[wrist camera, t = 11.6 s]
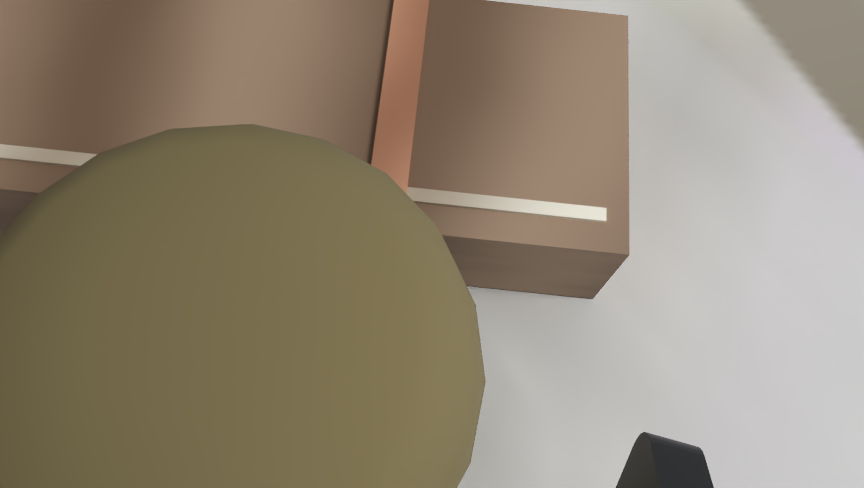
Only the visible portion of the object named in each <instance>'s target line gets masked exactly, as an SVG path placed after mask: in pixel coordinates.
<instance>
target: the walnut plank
mask: <svg viewBox="0 0 864 488" xmlns="http://www.w3.org/2000/svg"><path fill="white" fill-rule="evenodd" d="M237 124H255V125H260V126H264V127H269V128H274V129H279V130H283V131H288V132H293V133H297V134H302V135H307V136H311V137H316V138H321V139H325V140H326V141H328V142H330V143H332V144H334V145H336V146H337V147H339V148H341V149H343V150H345V151H347V152H348V153H350V154H352V155H354V156H356V157H358V158H359V159H361V160H363V161H365V162H367V163H369V164H370V165H372V166H374V167H376V168H378V169H380V170H381V171H383V172H385V173H387V174H388V175H389V176H390V177H391V178H392V179H393V180H394V182H395V183H396V184H397V185H398V186H399V187H400V188H401V189H402V190H403V191H404V192H405V193H406V194H407V195H408V196H409V197H410V198H411V199H412V200H413V201H414V202H415V203H416V204H417V206H418V207H419V208H420V209H421V210H422V211H423V212H424V213H425V214H426V215H427V216H428V217H429V218H430V219H431V220H432V221H433V222H434V223H435V224H436V225H437V227H438V229H439V231H440V233H441V235H442V236H443V238H444V240H445V242H446V245H447V247H448V249H449V251H450V253H451V255H452V257H453V259H454V261H455V263H456V265H457V267H458V270H459V272H460V274H461V276H462V278H463V280H464V282H465V284H466V286H475V287H485V288H494V289H504V290H513V291H523V292H533V293H542V294H552V295H562V296H571V297H581V298H590V299H593V298H594V297H595V295H596V294H597V293H598V292H599V291H600V289H601V288H602V287H603V286H604V285H605V283H606V282H607V281H608V280H609V279H610V277H611V276H612V275H613V274H614V273H615V271H616V270H617V269H618V268H619V266H620V265H621V264H622V263H623V262H624V260H625V259H626V258H627V257H628V256H629V116H628V16H624V15H615V14H606V13H597V12H588V11H578V10H569V9H560V8H551V7H541V6H532V5H523V4H514V3H504V2H495V1H486V0H0V236H1V235H2V234H3V233H4V232H5V231H6V229H7V228H8V227H9V226H10V225H11V224H12V223H13V221H14V220H15V219H16V218H17V217H18V216H19V215H20V213H21V212H22V211H23V210H24V209H25V208H26V207H27V205H28V204H29V203H30V202H31V201H32V200H33V199H34V197H35V196H36V195H37V194H39V193H40V192H42V191H43V190H45V189H46V188H48V187H49V186H51V185H52V184H54V183H55V182H57V181H58V180H60V179H61V178H63V177H64V176H66V175H67V174H69V173H70V172H72V171H73V170H75V169H76V168H78V167H79V166H81V165H82V164H84V163H85V162H87V161H88V160H90V159H91V158H93V157H94V156H96V155H97V154H99V153H100V152H103V151H106V150H109V149H112V148H115V147H118V146H121V145H124V144H127V143H130V142H133V141H136V140H139V139H142V138H145V137H147V136H150V135H153V134H156V133H159V132H162V131H165V130H168V129H175V128H191V127H206V126H222V125H237Z"/></svg>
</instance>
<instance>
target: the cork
mask: <svg viewBox="0 0 864 488" xmlns="http://www.w3.org/2000/svg"><path fill="white" fill-rule="evenodd" d="M484 387H485V374H484V367H483V359H482V351H481V344H480V336H479V328H478V321H477V313H476V305H475V303H474V301H473V299H472V297H471V295H470V292H469V290H468V288H467V286H466V284H465V282H464V280H463V278H462V276H461V274H460V272H459V270H458V267H457V265H456V263H455V261H454V259H453V257H452V255H451V253H450V251H449V249H448V247H447V245H446V242H445V240H444V238H443V236H442V235H441V233H440V231H439V229H438V227H437V225H436V224H435V223H434V222H433V221H432V220H431V219H430V218H429V217H428V216H427V215H426V214H425V213H424V212H423V211H422V210H421V209H420V208H419V207H418V206H417V204H416V203H415V202H414V201H413V200H412V199H411V198H410V197H409V196H408V195H407V194H406V193H405V192H404V191H403V190H402V189H401V188H400V187H399V186H398V185H397V184H396V183H395V182H394V180H393V179H392V178H391V177H390V176H389V175H388V174H387V173H385V172H383V171H381V170H380V169H378V168H376V167H374V166H372V165H370V164H369V163H367V162H365V161H363V160H361V159H359V158H358V157H356V156H354V155H352V154H350V153H348V152H347V151H345V150H343V149H341V148H339V147H337V146H336V145H334V144H332V143H330V142H328V141H326V140H325V139H321V138H316V137H311V136H307V135H302V134H297V133H293V132H288V131H283V130H279V129H274V128H269V127H264V126H260V125H255V124H237V125H222V126H206V127H191V128H175V129H168V130H165V131H162V132H159V133H156V134H153V135H150V136H147V137H145V138H142V139H139V140H136V141H133V142H130V143H127V144H124V145H121V146H118V147H115V148H112V149H109V150H106V151H103V152H100V153H99V154H97V155H96V156H94V157H93V158H91V159H90V160H88V161H87V162H85V163H84V164H82V165H81V166H79V167H78V168H76V169H75V170H73V171H72V172H70V173H69V174H67V175H66V176H64V177H63V178H61V179H60V180H58V181H57V182H55V183H54V184H52V185H51V186H49V187H48V188H46V189H45V190H43V191H42V192H40V193H39V194H37V195H36V196H35V197H34V199H33V200H32V201H31V202H30V203H29V204H28V205H27V207H26V208H25V209H24V210H23V211H22V212H21V213H20V215H19V216H18V217H17V218H16V219H15V220H14V221H13V223H12V224H11V225H10V226H9V227H8V228H7V229H6V231H5V232H4V233H3V234H2V235H1V236H0V488H457V487H458V485H459V483H460V481H461V479H462V477H463V475H464V474H465V472H466V470H467V468H468V466H469V464H470V462H471V456H472V451H473V446H474V440H475V435H476V430H477V424H478V419H479V413H480V408H481V403H482V397H483V392H484Z"/></svg>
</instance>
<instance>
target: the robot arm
mask: <svg viewBox="0 0 864 488" xmlns="http://www.w3.org/2000/svg"><path fill="white" fill-rule="evenodd" d="M616 488H714V487H713V484H712V481H711V477H710V474H709V470H708V467H707V463H706V460H705V457H704V454H703V451H702V450H701V449H700V448H699V447H696V446H693V445H689V444H686V443H682V442H678V441H675V440H671V439H668V438H664V437H661V436H657V435H653V434H650V433H646V432H643V433H641V434H640V435H639V437H638V438H637V440H636V441H635V444H634V446H633V448H632V450H631V453H630V455H629V458H628V460H627V462H626V465H625V467H624V469H623V472H622V474H621V477H620V479H619V481H618V484H617V486H616Z"/></svg>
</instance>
